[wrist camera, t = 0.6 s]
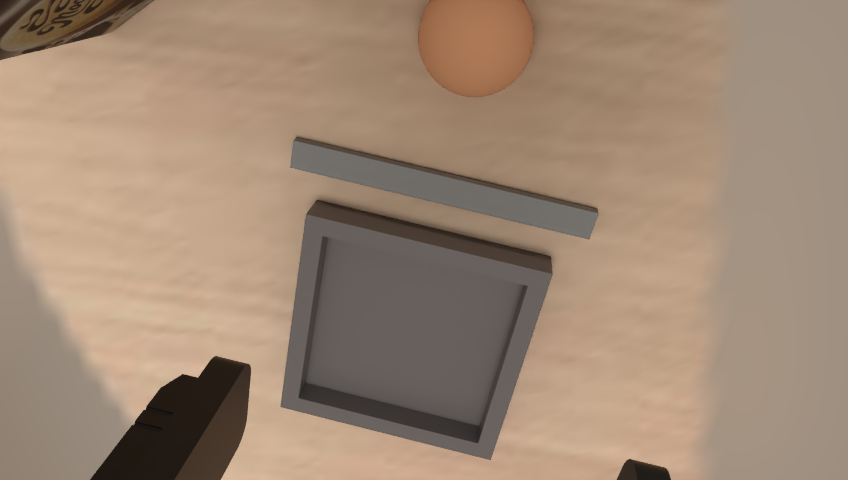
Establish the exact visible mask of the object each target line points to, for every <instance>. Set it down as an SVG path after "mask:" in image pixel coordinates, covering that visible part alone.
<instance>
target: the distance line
mask: <svg viewBox="0 0 848 480" xmlns="http://www.w3.org/2000/svg"><path fill="white" fill-rule="evenodd" d="M290 168H295V169H299V170H303V171H307V172H311V173H315V174H319V175H324V176H328V177H332V178H336V179H340V180H344V181H349V182H353V183H357V184H361V185H365V186H369V187H373V188H378V189H382V190H386V191H390V192H394V193H398V194H403V195H407V196H411V197H415V198H419V199H423V200H427V201H432V202H436V203H440V204H444V205H448V206H452V207H457V208H461V209H465V210H469V211H473V212H477V213H482V214H486V215H490V216H494V217H498V218H502V219H506V220H511V221H515V222H519V223H523V224H527V225H531V226H536V227H540V228H544V229H548V230H552V231H556V232H560V233H565V234H569V235H573V236H577V237H581V238H585V239H590V236H591V233H592V230H593V228H594V225H595V222H596V219H597V216H598V210H597V209H595V208H591V207H587V206H583V205H578V204H574V203H570V202H566V201H562V200H558V199H553V198H549V197H545V196H541V195H537V194H532V193H528V192H524V191H520V190H516V189H511V188H507V187H503V186H499V185H495V184H491V183H486V182H482V181H478V180H474V179H470V178H465V177H461V176H457V175H453V174H449V173H445V172H440V171H436V170H432V169H428V168H424V167H419V166H415V165H411V164H407V163H403V162H399V161H394V160H390V159H386V158H382V157H378V156H373V155H369V154H365V153H361V152H357V151H353V150H348V149H344V148H340V147H336V146H332V145H327V144H323V143H319V142H315V141H311V140H306V139H302V138H298V137H297V138H296V139H295V140H294V141H293V149H292V158H291V166H290Z"/></svg>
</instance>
